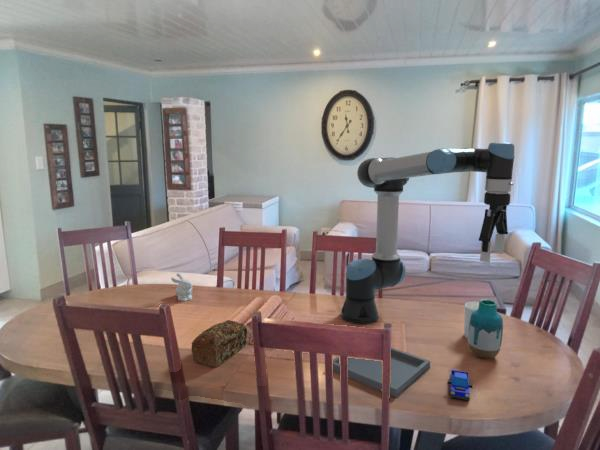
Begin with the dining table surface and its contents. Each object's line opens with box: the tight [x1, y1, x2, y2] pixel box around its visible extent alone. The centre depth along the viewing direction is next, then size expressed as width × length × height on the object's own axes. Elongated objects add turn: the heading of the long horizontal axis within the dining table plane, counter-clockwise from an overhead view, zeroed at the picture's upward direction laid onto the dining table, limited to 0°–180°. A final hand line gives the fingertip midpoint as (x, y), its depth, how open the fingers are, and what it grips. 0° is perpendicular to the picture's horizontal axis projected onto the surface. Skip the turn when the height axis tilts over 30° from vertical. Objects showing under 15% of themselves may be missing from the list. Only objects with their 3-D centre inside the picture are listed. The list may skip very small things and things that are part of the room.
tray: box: [332, 347, 431, 398], centre depth 142 cm, size 24×22×2 cm
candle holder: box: [463, 301, 479, 339], centre depth 165 cm, size 10×10×12 cm
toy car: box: [447, 369, 473, 401], centre depth 131 cm, size 7×12×5 cm, turn 161°
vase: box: [467, 299, 504, 359], centre depth 150 cm, size 11×11×19 cm
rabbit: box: [171, 273, 194, 302], centre depth 203 cm, size 12×9×12 cm
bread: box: [190, 319, 248, 368], centre depth 151 cm, size 19×11×10 cm, turn 153°
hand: (491, 257), depth 145 cm, fingers open, 13 cm apart
